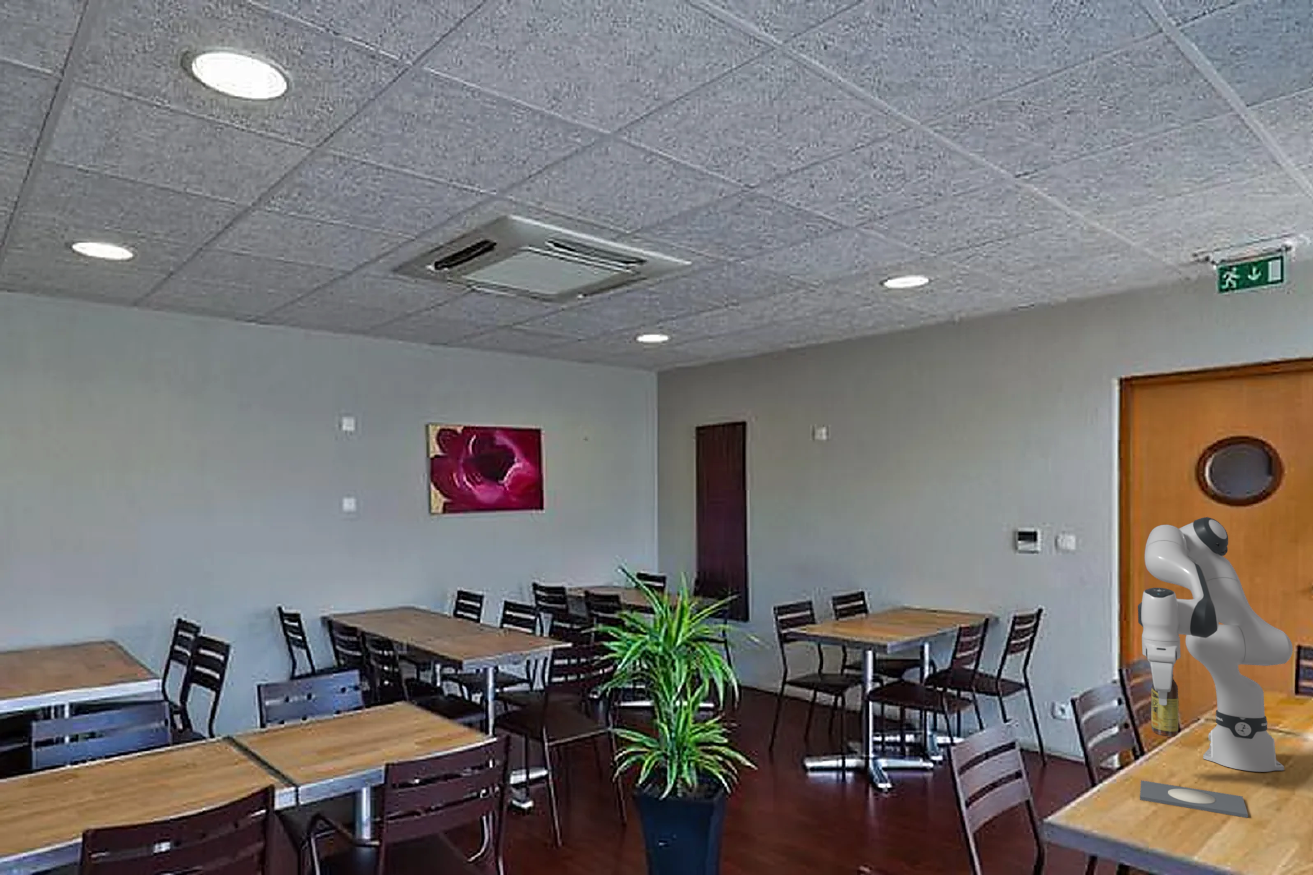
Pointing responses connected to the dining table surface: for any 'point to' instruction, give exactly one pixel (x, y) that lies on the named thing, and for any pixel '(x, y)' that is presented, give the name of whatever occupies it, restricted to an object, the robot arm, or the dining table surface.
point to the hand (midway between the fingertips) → (1162, 701)
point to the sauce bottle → (1165, 712)
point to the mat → (1193, 798)
